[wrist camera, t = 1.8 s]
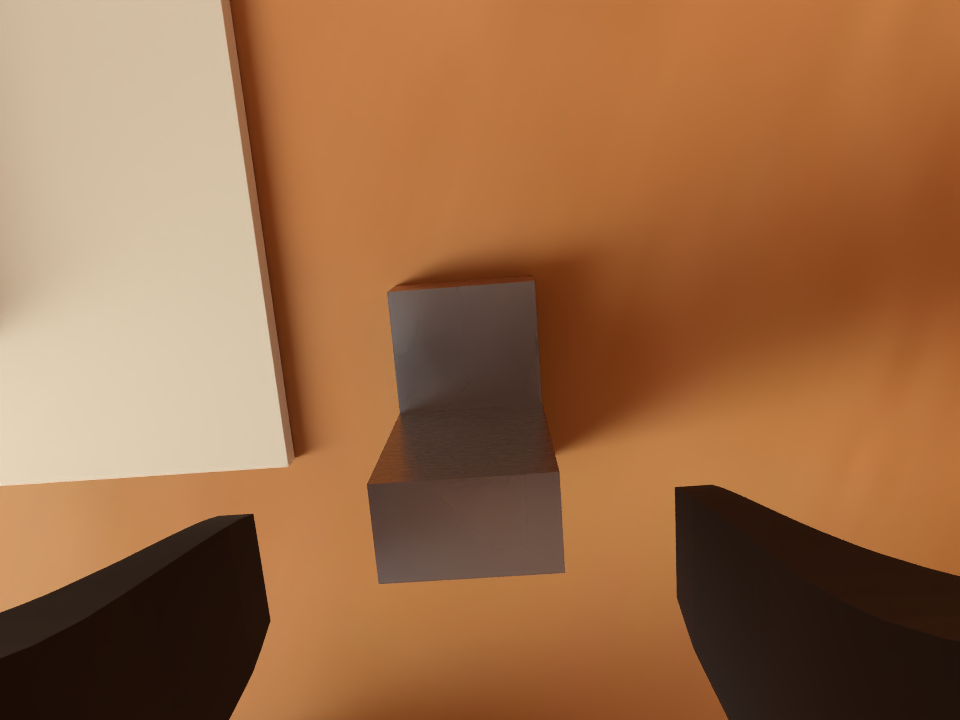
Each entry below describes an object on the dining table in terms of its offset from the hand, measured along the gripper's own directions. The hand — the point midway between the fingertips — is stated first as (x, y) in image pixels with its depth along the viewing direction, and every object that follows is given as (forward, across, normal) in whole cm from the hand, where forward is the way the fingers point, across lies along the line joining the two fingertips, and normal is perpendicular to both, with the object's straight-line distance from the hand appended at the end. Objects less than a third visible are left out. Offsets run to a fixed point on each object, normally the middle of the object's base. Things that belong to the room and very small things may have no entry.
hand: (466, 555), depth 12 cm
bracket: (+7, 0, -1) cm, 7 cm away
